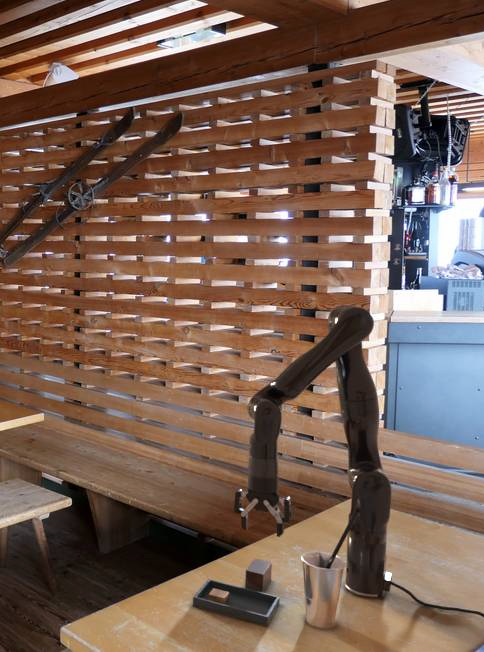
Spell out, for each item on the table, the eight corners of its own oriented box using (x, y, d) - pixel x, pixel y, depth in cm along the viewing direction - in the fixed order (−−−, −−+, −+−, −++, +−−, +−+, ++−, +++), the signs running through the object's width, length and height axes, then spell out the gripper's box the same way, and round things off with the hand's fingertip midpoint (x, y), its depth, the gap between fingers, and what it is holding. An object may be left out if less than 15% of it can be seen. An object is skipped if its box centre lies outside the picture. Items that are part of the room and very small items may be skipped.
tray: (279, 605, 185) (279, 596, 185) (267, 626, 175) (267, 617, 175) (208, 587, 195) (208, 578, 195) (192, 606, 185) (193, 597, 185)
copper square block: (228, 598, 188) (229, 592, 188) (224, 604, 185) (224, 598, 185) (213, 594, 190) (213, 588, 190) (208, 600, 187) (208, 594, 187)
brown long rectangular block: (271, 582, 199) (271, 562, 198) (262, 595, 191) (263, 574, 191) (254, 577, 201) (254, 558, 201) (245, 590, 193) (245, 570, 193)
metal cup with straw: (354, 637, 171) (359, 510, 168) (302, 631, 173) (307, 506, 171) (343, 614, 181) (348, 495, 179) (294, 609, 183) (299, 491, 181)
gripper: (294, 472, 193) (293, 533, 194) (239, 464, 200) (238, 523, 202) (288, 480, 187) (287, 543, 188) (231, 472, 194) (231, 532, 195)
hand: (262, 532), depth 195 cm, fingers open, 8 cm apart
